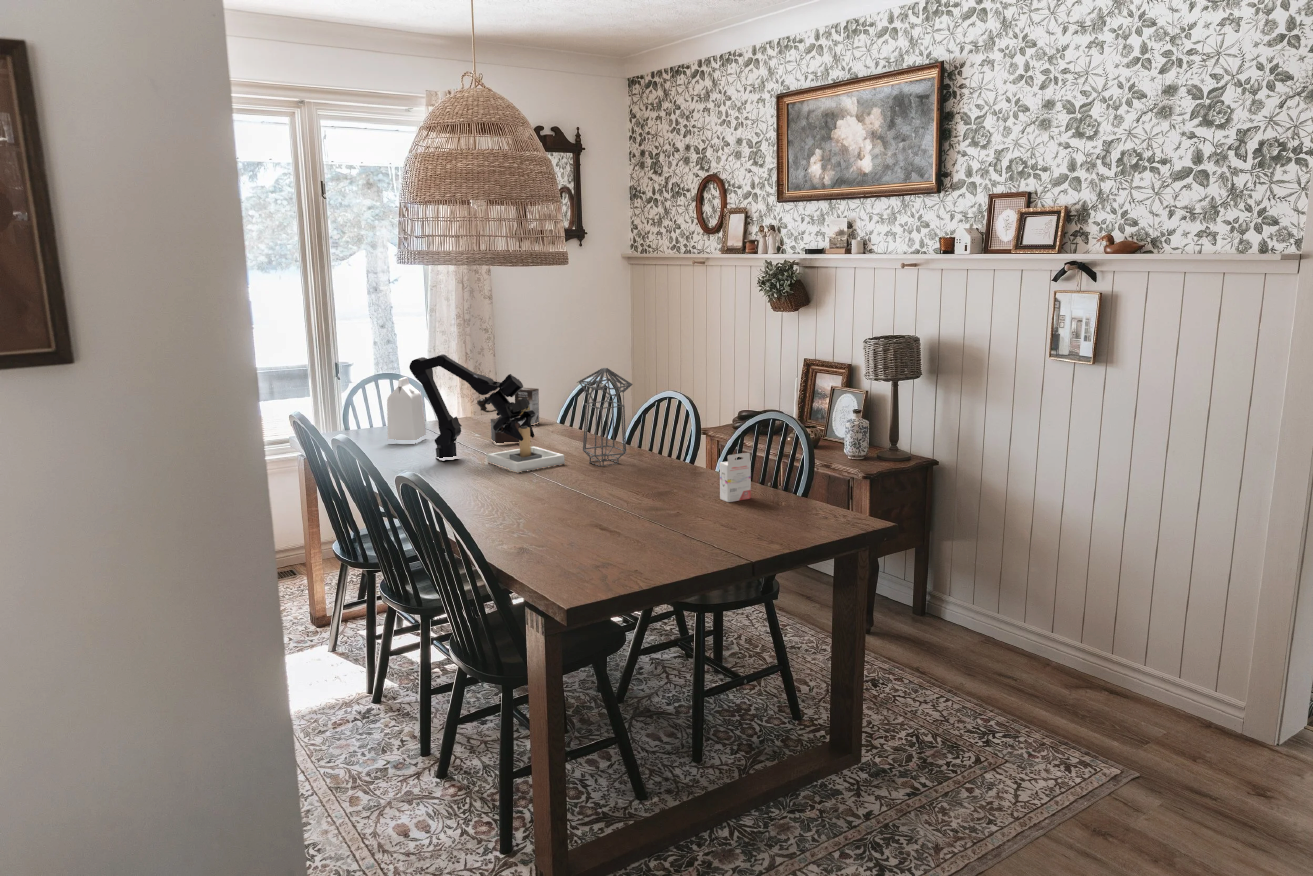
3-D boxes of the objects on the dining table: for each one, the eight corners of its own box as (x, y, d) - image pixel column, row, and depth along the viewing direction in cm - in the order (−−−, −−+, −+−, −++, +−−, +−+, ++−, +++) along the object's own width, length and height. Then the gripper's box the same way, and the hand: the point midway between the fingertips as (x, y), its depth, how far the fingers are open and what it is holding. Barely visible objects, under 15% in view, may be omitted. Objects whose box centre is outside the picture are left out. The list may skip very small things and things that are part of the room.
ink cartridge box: (742, 495, 285) (742, 449, 282) (751, 499, 280) (751, 452, 277) (719, 498, 281) (719, 452, 278) (727, 502, 276) (727, 455, 273)
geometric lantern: (611, 456, 340) (612, 363, 332) (634, 465, 327) (635, 369, 319) (574, 461, 331) (574, 366, 324) (595, 471, 318) (596, 372, 311)
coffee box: (515, 424, 404) (513, 389, 401) (522, 422, 410) (521, 387, 407) (533, 426, 401) (531, 390, 397) (540, 423, 406) (538, 387, 403)
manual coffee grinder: (515, 438, 374) (513, 395, 370) (522, 443, 364) (520, 399, 360) (477, 442, 368) (475, 398, 364) (483, 447, 358) (481, 402, 354)
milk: (400, 438, 377) (395, 376, 372) (426, 438, 376) (422, 376, 370) (387, 444, 366) (383, 380, 360) (415, 444, 364) (410, 380, 359)
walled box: (534, 455, 343) (534, 446, 342) (564, 464, 328) (564, 454, 327) (487, 463, 330) (487, 454, 330) (516, 473, 315) (516, 463, 315)
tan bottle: (524, 459, 332) (522, 425, 329) (533, 460, 330) (532, 425, 327) (518, 461, 328) (516, 427, 326) (527, 462, 326) (525, 427, 324)
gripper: (497, 395, 318) (524, 428, 315) (530, 388, 334) (555, 420, 331) (481, 415, 323) (507, 448, 320) (514, 407, 339) (539, 439, 336)
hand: (528, 438), depth 327 cm, fingers open, 6 cm apart
